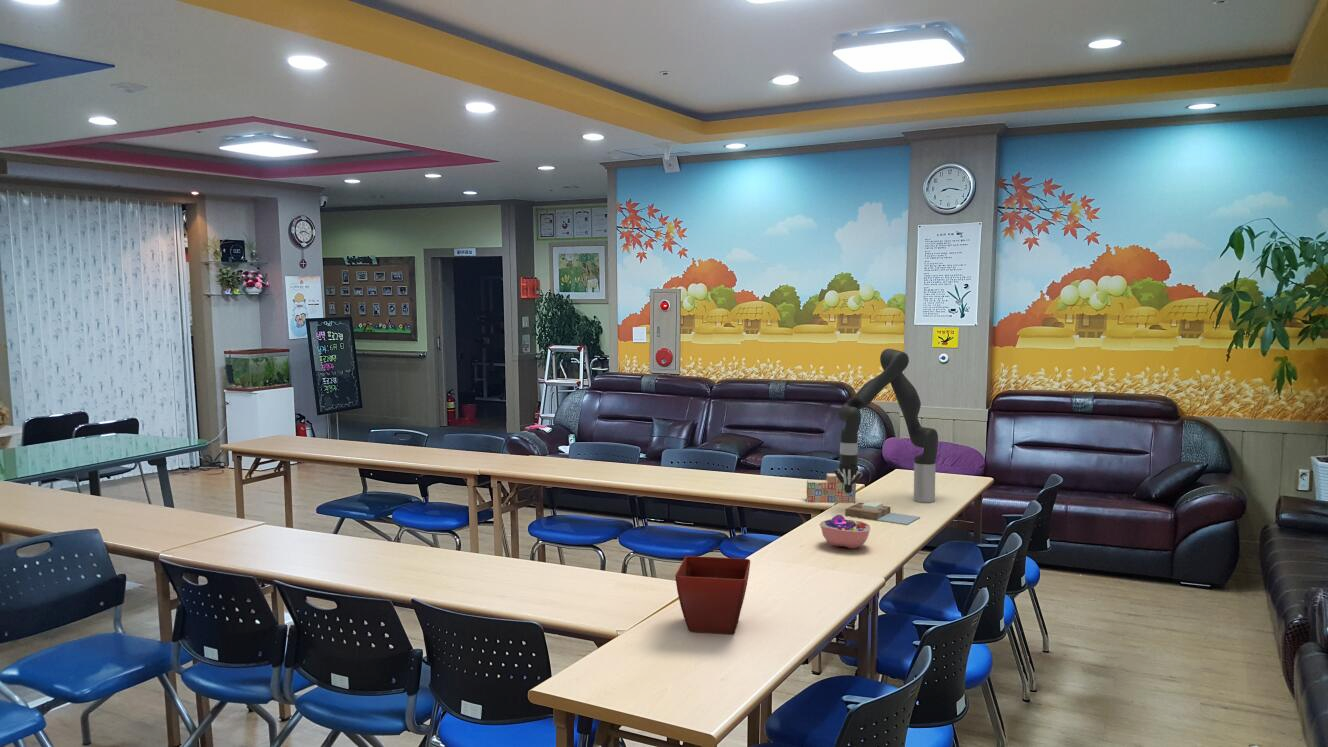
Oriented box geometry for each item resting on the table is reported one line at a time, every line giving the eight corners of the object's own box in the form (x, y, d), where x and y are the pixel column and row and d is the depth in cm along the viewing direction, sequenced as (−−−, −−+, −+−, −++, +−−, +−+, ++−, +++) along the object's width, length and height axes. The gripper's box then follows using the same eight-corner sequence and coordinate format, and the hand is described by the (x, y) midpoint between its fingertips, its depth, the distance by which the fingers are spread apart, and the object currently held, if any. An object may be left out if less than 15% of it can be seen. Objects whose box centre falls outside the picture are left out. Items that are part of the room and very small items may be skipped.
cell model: (848, 557, 316) (848, 525, 315) (809, 544, 333) (809, 514, 332) (881, 549, 325) (882, 518, 324) (842, 537, 342) (842, 508, 341)
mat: (890, 513, 379) (890, 512, 379) (920, 517, 371) (920, 516, 371) (876, 520, 367) (876, 519, 367) (907, 525, 360) (907, 523, 359)
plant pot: (745, 640, 239) (745, 579, 238) (674, 636, 242) (674, 575, 241) (750, 615, 258) (750, 558, 256) (685, 612, 261) (685, 555, 260)
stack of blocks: (807, 502, 401) (807, 475, 400) (806, 499, 408) (806, 473, 407) (855, 503, 400) (856, 476, 399) (853, 500, 406) (854, 473, 405)
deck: (859, 509, 387) (859, 502, 387) (890, 513, 379) (890, 506, 378) (845, 516, 375) (845, 509, 375) (876, 520, 367) (876, 513, 367)
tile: (869, 505, 381) (869, 501, 380) (882, 507, 377) (882, 503, 377) (861, 509, 374) (861, 504, 374) (875, 511, 371) (875, 506, 371)
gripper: (867, 453, 379) (866, 493, 381) (838, 450, 387) (837, 489, 388) (859, 455, 373) (859, 496, 375) (830, 452, 381) (830, 492, 382)
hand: (848, 492), depth 381 cm, fingers closed
